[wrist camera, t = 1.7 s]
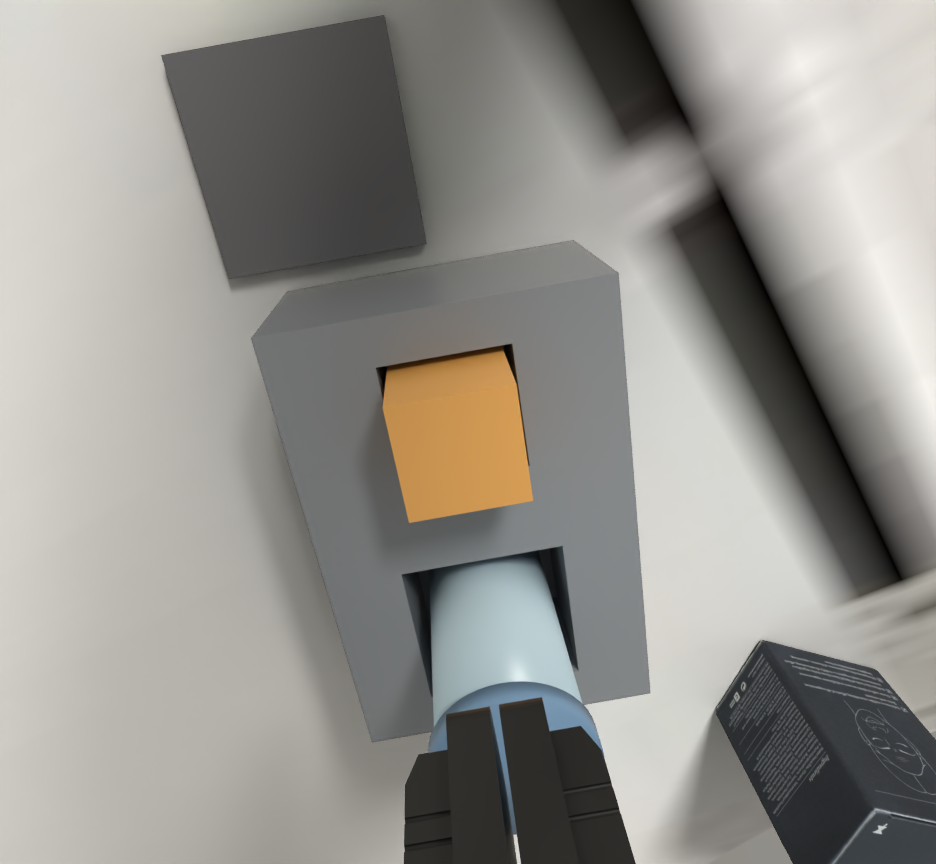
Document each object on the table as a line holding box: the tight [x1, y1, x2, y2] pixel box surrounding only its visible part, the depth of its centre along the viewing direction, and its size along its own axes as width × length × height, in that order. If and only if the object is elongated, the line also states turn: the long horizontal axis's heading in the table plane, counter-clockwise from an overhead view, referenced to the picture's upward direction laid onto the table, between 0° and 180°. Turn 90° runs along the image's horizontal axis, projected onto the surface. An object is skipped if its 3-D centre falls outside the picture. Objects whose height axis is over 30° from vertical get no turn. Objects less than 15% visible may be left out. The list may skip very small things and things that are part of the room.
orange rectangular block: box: [383, 346, 533, 523], centre depth 24 cm, size 4×4×5 cm
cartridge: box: [428, 550, 604, 834], centre depth 27 cm, size 5×5×12 cm
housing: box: [251, 240, 650, 742], centre depth 29 cm, size 18×12×7 cm, turn 9°
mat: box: [161, 15, 426, 279], centre depth 27 cm, size 8×8×1 cm
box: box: [716, 640, 936, 864], centre depth 35 cm, size 8×6×11 cm
